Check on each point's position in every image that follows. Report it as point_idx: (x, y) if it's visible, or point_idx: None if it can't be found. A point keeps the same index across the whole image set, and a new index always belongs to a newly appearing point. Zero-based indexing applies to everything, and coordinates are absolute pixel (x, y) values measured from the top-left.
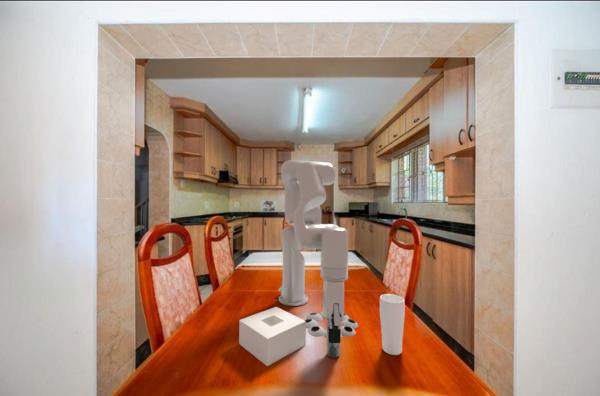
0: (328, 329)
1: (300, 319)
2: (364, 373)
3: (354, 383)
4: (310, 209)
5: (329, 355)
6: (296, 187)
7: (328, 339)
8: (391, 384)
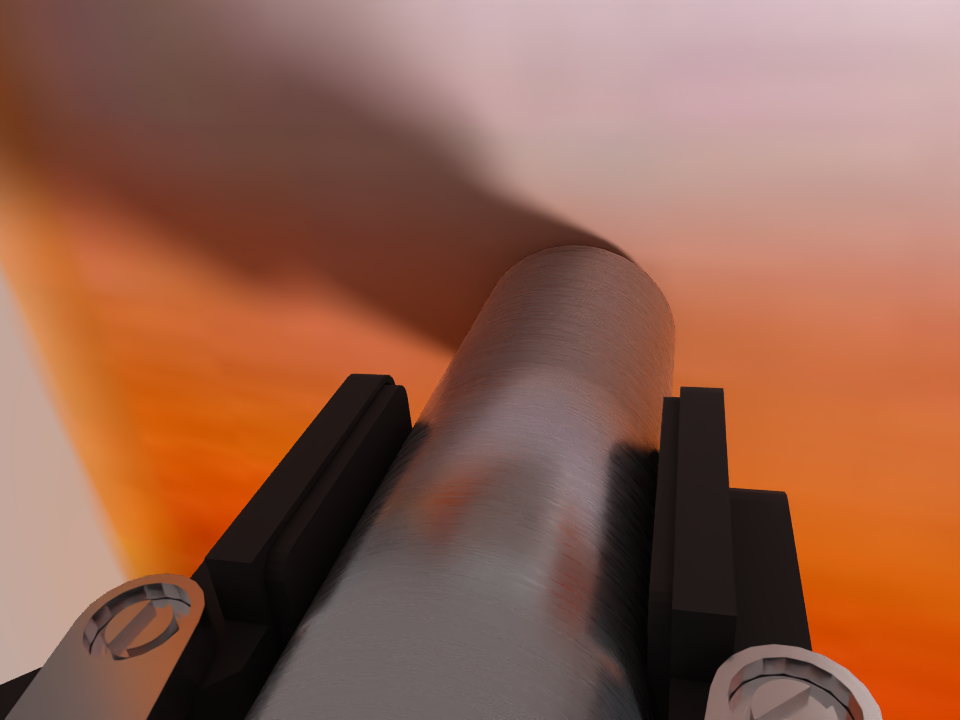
0: (387, 503)
1: None
2: None
3: (148, 455)
4: None
5: (498, 282)
6: None
7: (354, 391)
8: None
